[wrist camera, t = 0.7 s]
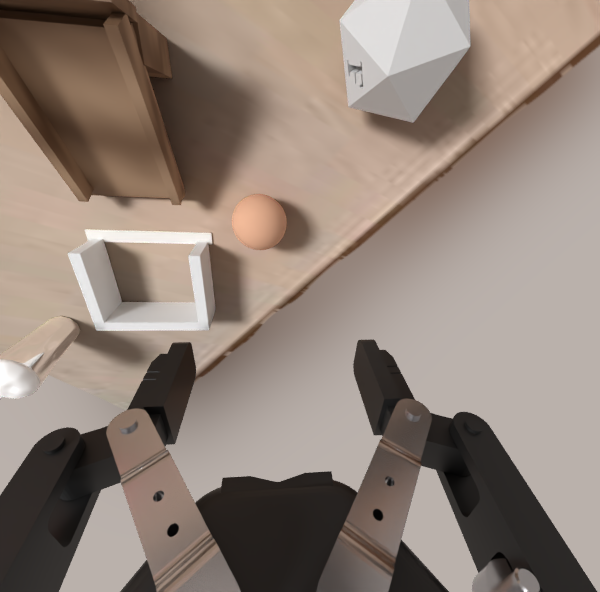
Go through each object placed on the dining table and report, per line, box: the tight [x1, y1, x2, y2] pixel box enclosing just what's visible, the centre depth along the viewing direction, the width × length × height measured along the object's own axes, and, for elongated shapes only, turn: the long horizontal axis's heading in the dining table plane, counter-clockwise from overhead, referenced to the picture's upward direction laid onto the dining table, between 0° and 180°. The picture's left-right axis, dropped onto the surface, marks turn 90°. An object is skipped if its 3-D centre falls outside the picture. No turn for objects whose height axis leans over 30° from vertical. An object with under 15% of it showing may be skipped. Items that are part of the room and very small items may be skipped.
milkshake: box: [0, 316, 80, 399], centre depth 29 cm, size 4×5×10 cm
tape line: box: [85, 229, 212, 244], centre depth 29 cm, size 1×12×1 cm, turn 87°
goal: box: [68, 239, 216, 331], centre depth 29 cm, size 8×11×4 cm
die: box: [340, 0, 471, 123], centre depth 20 cm, size 8×9×10 cm
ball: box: [232, 194, 287, 250], centre depth 27 cm, size 5×5×5 cm
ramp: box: [0, 0, 185, 205], centre depth 20 cm, size 12×8×9 cm
